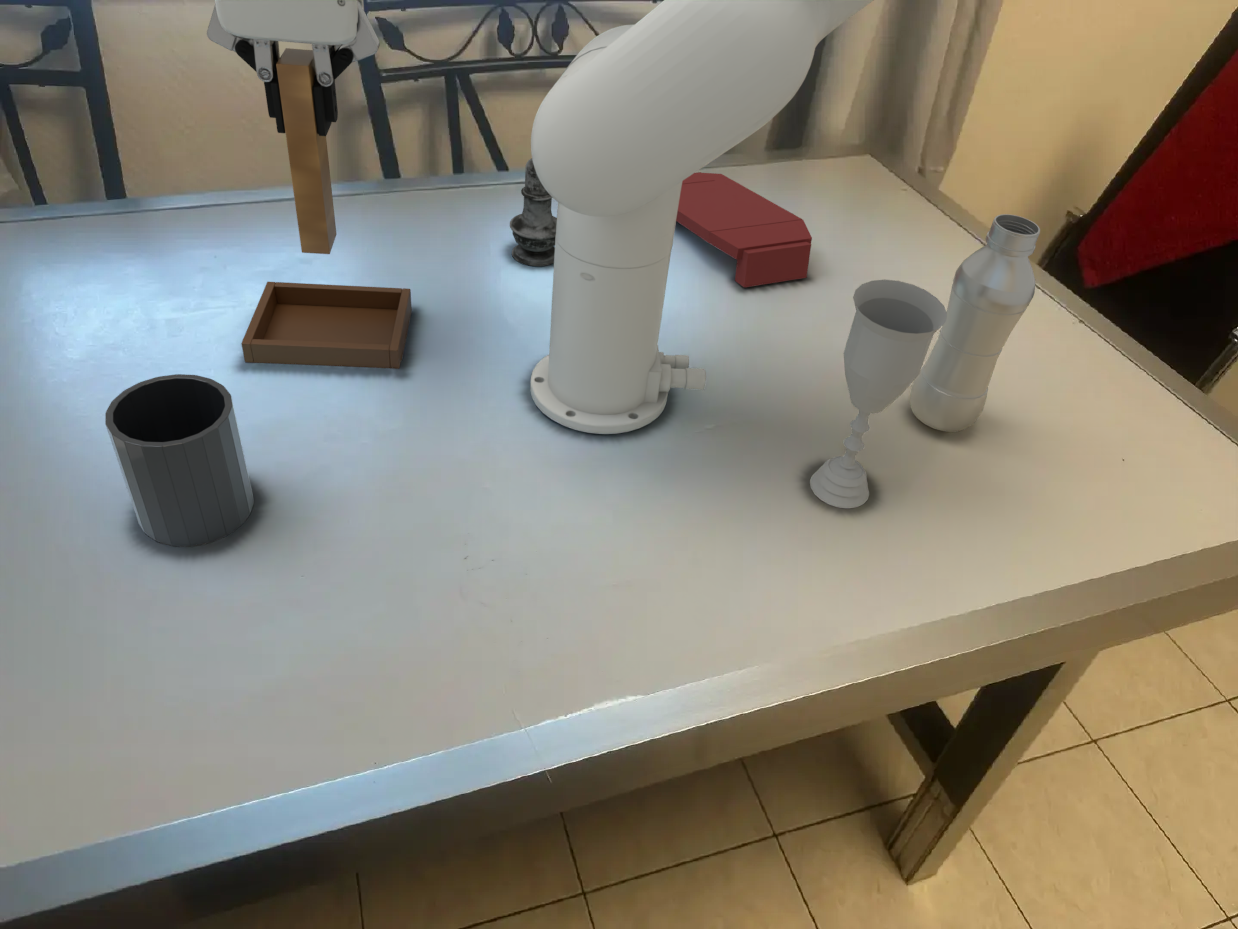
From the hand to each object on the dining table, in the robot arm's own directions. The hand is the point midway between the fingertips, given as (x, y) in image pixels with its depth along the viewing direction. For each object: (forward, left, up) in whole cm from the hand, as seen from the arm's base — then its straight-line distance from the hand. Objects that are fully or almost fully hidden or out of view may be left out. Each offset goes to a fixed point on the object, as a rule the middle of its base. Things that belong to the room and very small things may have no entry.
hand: (305, 126), depth 77 cm
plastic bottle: (-57, +9, -21) cm, 61 cm away
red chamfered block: (-41, -26, -21) cm, 53 cm away
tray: (0, 0, -20) cm, 20 cm away
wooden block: (0, 0, -11) cm, 11 cm away
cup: (+6, +24, -20) cm, 32 cm away
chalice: (-45, +19, -21) cm, 53 cm away
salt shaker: (-19, -18, -21) cm, 33 cm away
